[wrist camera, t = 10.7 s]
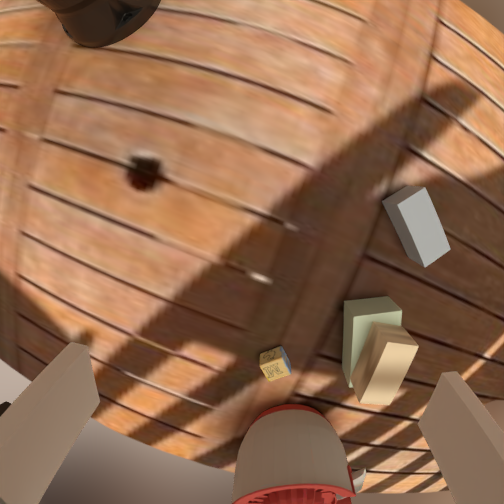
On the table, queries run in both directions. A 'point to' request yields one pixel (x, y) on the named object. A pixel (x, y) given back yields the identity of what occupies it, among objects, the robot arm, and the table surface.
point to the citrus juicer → (293, 461)
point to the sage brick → (364, 326)
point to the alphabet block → (275, 364)
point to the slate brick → (417, 224)
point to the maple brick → (382, 363)
